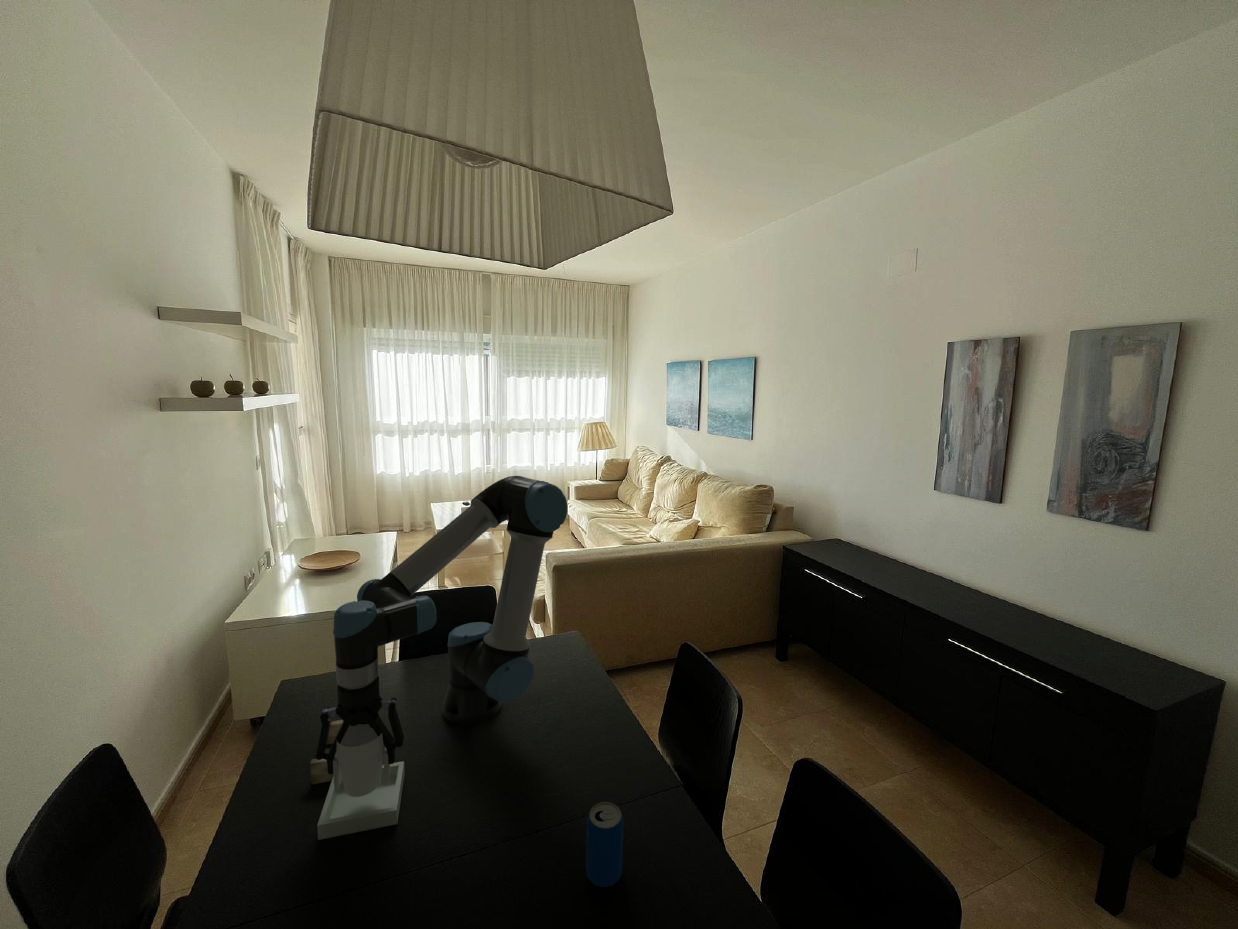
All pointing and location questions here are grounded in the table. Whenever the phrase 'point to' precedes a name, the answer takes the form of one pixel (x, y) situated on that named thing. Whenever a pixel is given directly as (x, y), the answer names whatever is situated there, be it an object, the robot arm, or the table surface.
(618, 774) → the table surface
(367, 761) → the cup
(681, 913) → the table surface
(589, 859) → the beverage can
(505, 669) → the robot arm
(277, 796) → the table surface
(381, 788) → the tray
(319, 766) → the rest
